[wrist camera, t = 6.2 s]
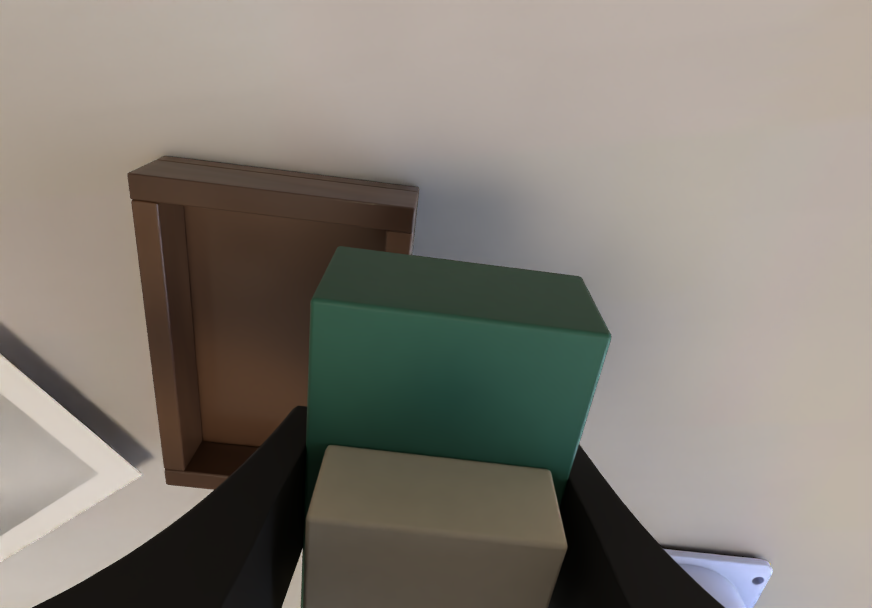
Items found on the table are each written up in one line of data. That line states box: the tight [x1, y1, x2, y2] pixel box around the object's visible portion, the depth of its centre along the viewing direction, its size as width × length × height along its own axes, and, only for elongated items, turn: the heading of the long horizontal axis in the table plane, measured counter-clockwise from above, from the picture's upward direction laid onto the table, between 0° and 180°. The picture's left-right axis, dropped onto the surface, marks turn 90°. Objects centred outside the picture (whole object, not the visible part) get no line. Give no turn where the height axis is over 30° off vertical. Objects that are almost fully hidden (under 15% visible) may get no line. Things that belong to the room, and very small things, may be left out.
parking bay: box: [128, 156, 419, 490], centre depth 20 cm, size 12×8×2 cm
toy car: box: [301, 246, 611, 608], centre depth 12 cm, size 9×5×5 cm, turn 173°
